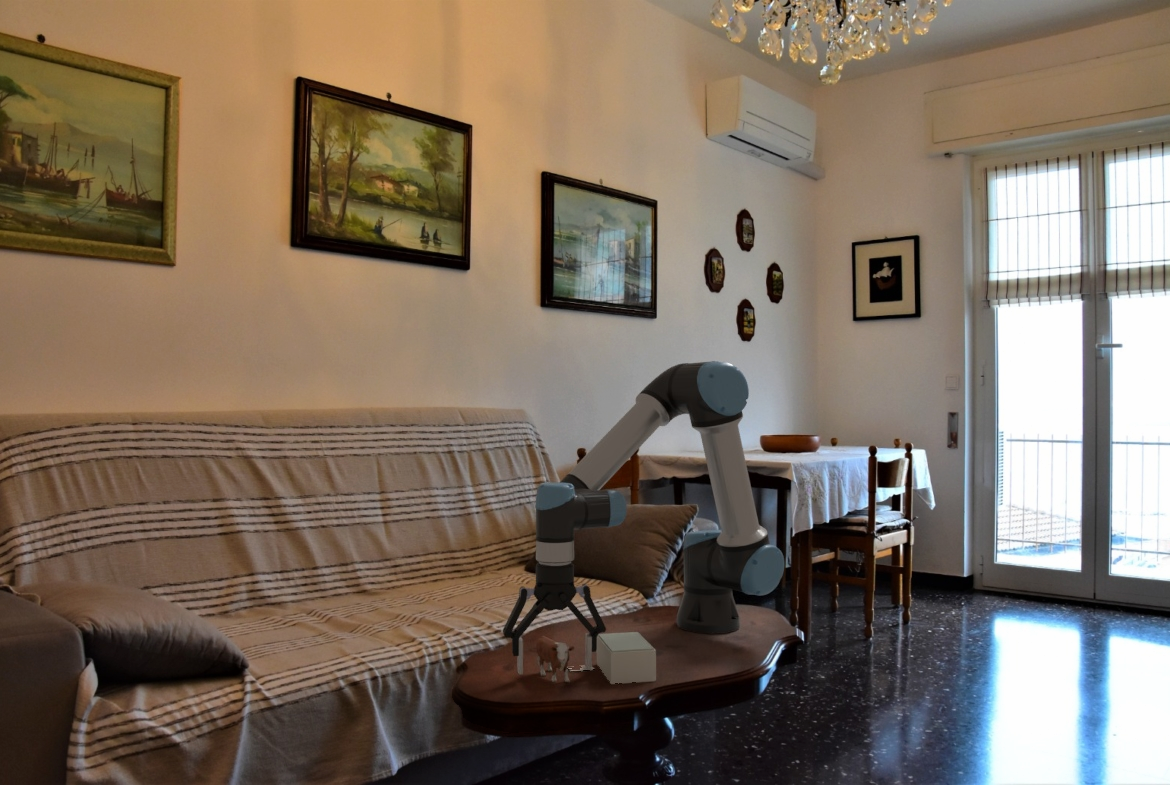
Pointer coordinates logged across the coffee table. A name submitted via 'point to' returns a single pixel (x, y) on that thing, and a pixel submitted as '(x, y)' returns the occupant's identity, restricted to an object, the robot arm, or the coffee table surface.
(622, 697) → the coffee table surface
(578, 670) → the page
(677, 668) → the coffee table surface
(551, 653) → the bull figurine
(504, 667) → the coffee table surface
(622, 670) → the plinth
